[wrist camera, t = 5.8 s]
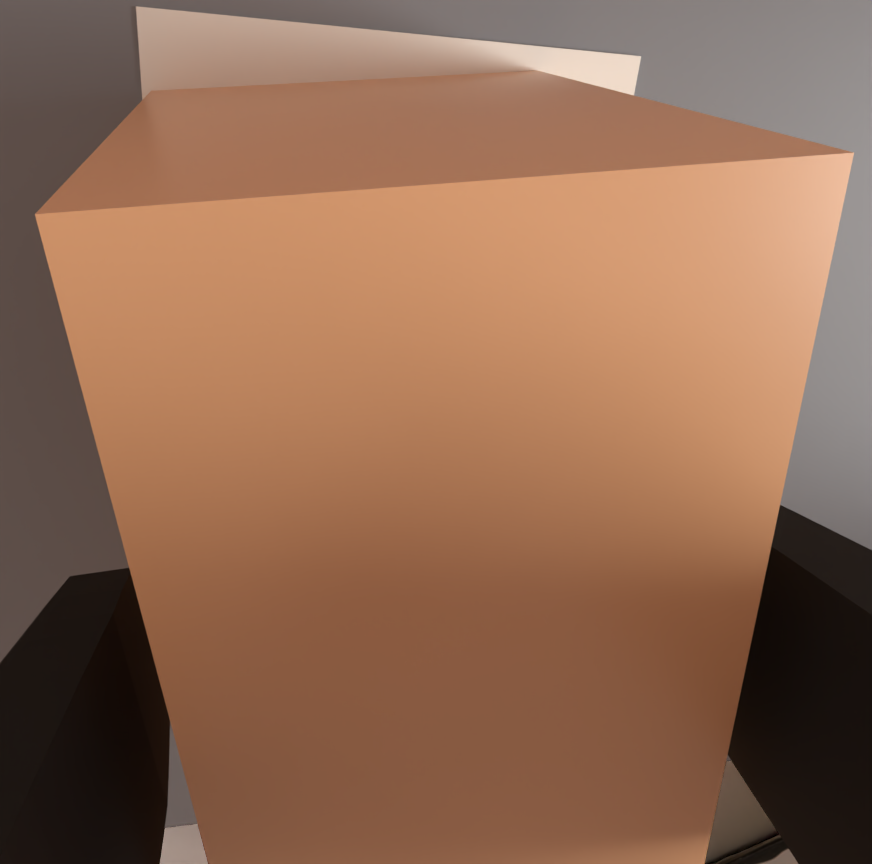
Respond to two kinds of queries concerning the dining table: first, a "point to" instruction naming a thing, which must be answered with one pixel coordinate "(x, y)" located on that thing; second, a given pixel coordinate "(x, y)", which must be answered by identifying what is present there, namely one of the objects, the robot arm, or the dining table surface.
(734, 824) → the dining table surface
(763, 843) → the candy bar box
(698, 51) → the pin board
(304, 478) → the block
